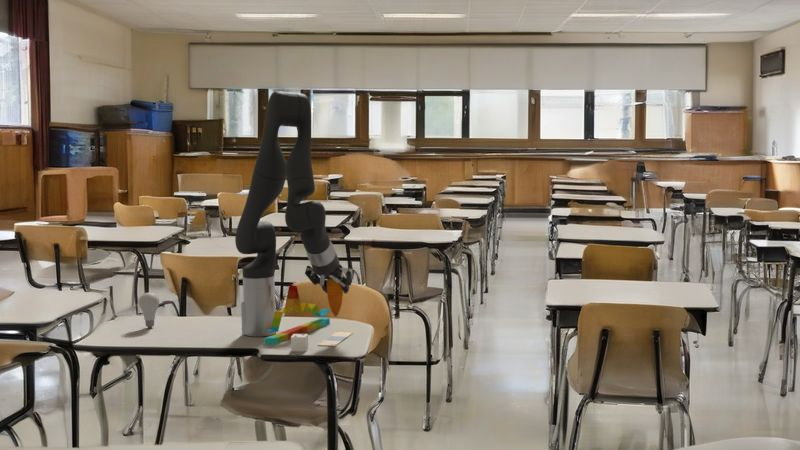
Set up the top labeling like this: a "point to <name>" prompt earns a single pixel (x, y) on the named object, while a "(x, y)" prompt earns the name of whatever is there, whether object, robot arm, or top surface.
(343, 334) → the flat strip
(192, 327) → the top surface
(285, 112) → the robot arm
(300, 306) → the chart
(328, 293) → the carrot
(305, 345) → the die
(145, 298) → the lightbulb
